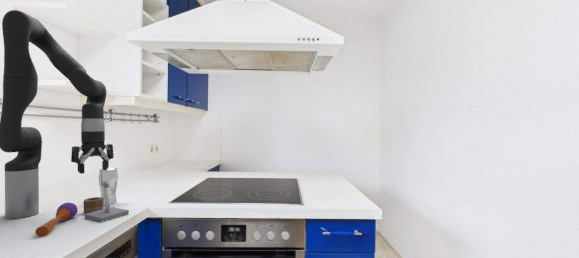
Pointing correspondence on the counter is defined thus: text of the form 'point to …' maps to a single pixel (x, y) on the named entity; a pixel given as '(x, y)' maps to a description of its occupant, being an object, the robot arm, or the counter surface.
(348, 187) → the counter surface
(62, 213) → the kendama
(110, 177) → the beer glass
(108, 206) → the rod stand
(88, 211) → the bead
